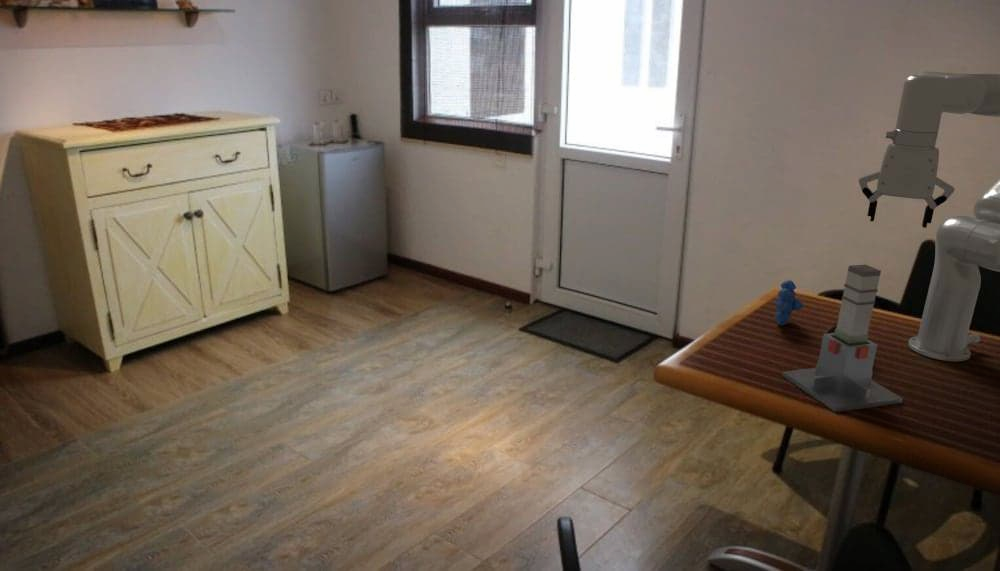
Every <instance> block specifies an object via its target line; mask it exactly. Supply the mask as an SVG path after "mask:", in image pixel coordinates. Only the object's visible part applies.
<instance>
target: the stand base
mask: <svg viewBox="0 0 1000 571" xmlns="http://www.w3.org/2000/svg"><path fill="white" fill-rule="evenodd" d="M877 349H878V344H877V343H875V342H873V341H871V340H869V339H868V340H867V342H866V344H863V345H854V346H848V345H846V344H844V343H842V342H841V341H839V340H837V339H835V336H834V333H833V332H832V333H830V334H824V333H823V336H822V340H821V346H820V352H819V356H818V359H817V362H816V366H815V367H814V368H813V367H811V368H802V369H795V370H794V369H793V370H788V371H782V372H781V373H782V374H781V377H782V378H784V377H785V380H787V381H789V382H790V383H792V384H793V383H794V384H795V385H794V384H793V385H794V386H796V387H797V386H798V387H797V388H798V389H800V388H801V389H800V390H802V391H803V392H805V393H806V394H807V395H809V396H811V397H812V398H814V399H815V400H817V401H818V402H819V401H820V402H819V403H821V404H822V403H823V404H822V405H824V406H825V407H827V408H828V409H830V410H831V411H832V412H834V413H840V412H845V411H846V412H847V411H853V410H860V409H868V408H875V407H881V406H883V407H884V406H890V405H897V404H902V403H903V399H904V398H903V397H901V396H899V395H898V394H896V393H894V392H893V391H891V390H889V389H887V387H884V386H883V385H881V384H879V383H877V382H875V380H872V378H873V374H874V371H873V367H874V363H875V357H876V353H877Z"/></svg>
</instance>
